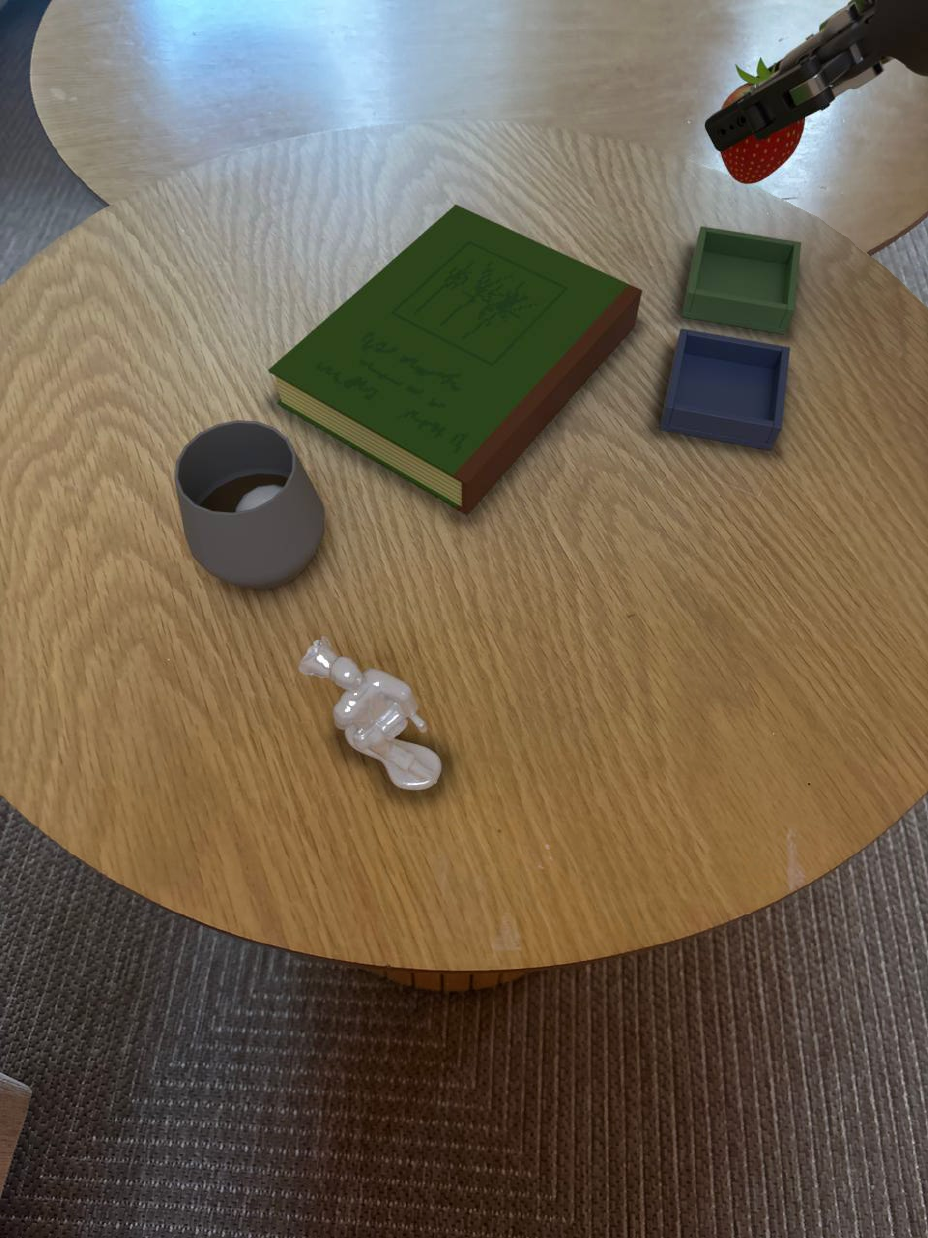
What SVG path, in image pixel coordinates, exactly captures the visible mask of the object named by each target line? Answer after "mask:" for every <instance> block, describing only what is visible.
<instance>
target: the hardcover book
mask: <svg viewBox="0 0 928 1238" xmlns="http://www.w3.org/2000/svg"><path fill="white" fill-rule="evenodd" d="M642 294H643V289H641V288H639V287H637V286H635V285H632V284H630V283H628V282H626V281H623V280H621V279H619V278H617V277H614V276H612V275H610V274H608V273H606V272H603V271H602V270H599V269H597V268H595V267H594V266H591V265H589V264H587V263H584V262H582V261H581V260H578V259H576V258H574V257H571V256H569V255H567V254H565V253H563V252H560V251H558V250H556V249H553V248H551V247H549V246H547V245H546V244H543V243H540V242H539V241H536V240H535V239H532V238H530V237H528V236H525V235H524V234H521V233H519V232H517V231H515V230H512V229H511V228H508V227H506V226H504V225H502V224H499V223H497V222H495V221H493V220H491V219H489V218H487V217H484V216H482V215H480V214H478V213H476V212H474V211H471V210H469V209H467V208H465V207H462V206H460V205H458V204H455V205H453V206H452V207H451V208H450V209H448V211H446V212H445V213H444V214H443V215H442V216H440V218H438V219H437V220H436V221H435V222H433V224H431V225H430V226H429V227H428V228H427V229H426V230H425V231H424V232H422V233H421V234H420V235H419V236H418V237H417V238H416V239H415V240H413V241H412V242H411V243H410V244H409V245H408V246H407V247H405V248H404V249H403V250H402V251H401V252H400V253H399V254H398V255H396V257H394V258H393V259H392V260H390V261H389V262H388V263H387V264H386V265H385V266H384V267H382V269H380V271H378V272H377V273H376V274H375V275H374V276H372V277H371V279H369V280H368V281H367V282H366V283H364V284H363V286H362V287H360V288H359V289H358V290H357V291H355V293H354V294H352V295H351V296H350V297H349V298H348V299H347V300H345V301H344V302H343V303H342V304H341V305H340V306H339V307H338V308H336V309H335V310H334V311H333V312H332V313H330V315H329V316H328V317H326V318H325V319H324V320H323V321H321V322H320V323H319V324H318V325H317V326H316V327H315V328H313V330H312V331H310V332H309V333H308V334H307V335H306V336H305V337H304V338H302V339H301V340H300V341H299V342H297V344H296V345H294V346H293V347H292V348H291V349H290V350H289V351H288V352H287V353H285V354H284V355H283V356H282V357H281V358H280V359H279V360H277V361H276V362H275V363H274V364H273V365H271V367H269V368H268V373H269V374H272V376H274V379H275V382H276V387H277V390H278V394H279V398H280V399H279V400H278V401H277V402H276V404H277V405H278V406H280V407H281V408H283V409H284V410H287V411H288V412H290V413H292V414H293V415H295V416H297V417H298V418H300V419H302V420H304V421H305V422H306V423H309V424H311V425H312V426H314V427H315V428H317V429H319V430H321V431H323V432H324V433H326V434H328V435H329V436H331V437H333V438H334V439H337V440H338V441H340V442H341V443H343V444H345V445H347V446H348V447H350V448H352V449H353V450H355V451H357V452H359V453H360V454H362V455H364V456H365V457H367V458H369V459H370V460H372V461H374V462H376V463H378V464H379V465H381V466H383V467H384V468H385V469H387V470H388V471H391V472H393V473H395V474H396V475H398V476H400V477H401V478H403V479H405V480H406V481H408V482H409V483H411V484H413V485H415V486H417V487H419V488H420V489H421V490H423V491H425V492H427V493H428V494H430V495H432V496H434V497H435V498H437V499H438V500H441V501H442V502H444V503H445V504H447V505H449V506H451V507H453V508H454V509H456V510H458V511H459V512H461V513H463V514H464V515H466V516H468V515H470V513H472V511H473V509H474V508H475V507H476V506H477V505H478V504H479V503H480V502H481V501H482V500H483V498H484V497H485V496H486V495H487V494H488V493H489V491H491V489H493V487H494V486H495V485H496V484H497V482H499V480H500V479H501V478H502V477H503V476H504V475H505V474H506V473H507V471H508V470H509V469H510V468H511V467H512V466H513V465H514V463H515V462H516V461H517V460H518V459H519V458H520V457H521V455H523V453H524V452H525V451H526V450H527V449H528V448H529V447H530V445H531V444H532V443H533V442H534V441H535V440H536V439H537V437H539V435H540V434H541V433H542V432H543V431H544V430H545V429H546V427H548V425H549V424H550V423H551V422H552V420H554V418H555V417H556V416H558V414H559V413H560V411H561V410H562V409H563V408H564V407H565V406H566V405H567V404H568V403H569V401H571V399H572V398H573V397H574V396H575V395H576V393H577V392H578V391H579V390H580V389H581V388H582V387H583V385H585V384H586V383H587V382H588V380H589V379H590V378H591V377H592V376H593V374H594V373H595V372H596V371H597V370H598V368H599V367H601V365H602V364H603V363H604V362H605V361H606V360H607V358H609V356H610V355H611V354H613V352H614V351H615V350H616V348H617V347H618V346H619V345H620V344H621V343H622V342H623V341H624V340H625V338H626V337H627V336H628V335H629V334H630V333H631V331H632V330H633V329H634V328H635V327H636V324H637V319H638V313H639V309H640V303H641V298H642Z"/></svg>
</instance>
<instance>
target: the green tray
mask: <svg viewBox="0 0 928 1238" xmlns="http://www.w3.org/2000/svg"><path fill="white" fill-rule="evenodd" d="M801 249H802V242H801V241H797V240H790V239H783V238H777V237H771V236H766V235H765V236H764V235H758V234H753V233H746V232H739V231H734V230H729V229H728V230H727V229H721V228H716V227H715V228H714V227H709V226H708V227H707V226H702V225H700V227H699V231H698V234H697V238H696V241H695V246H694V249H693V254H692V260H691V265H690V270H689V275H688V280H687V285H686V291H685V295H684V300H683V306H682V311H681V314H680V315H681V317H682V318H687V319H691V320H692V319H693V320H698V321H705V322H711V323H715V324H716V323H717V324H721V325H728V326H733V327H738V328H739V327H740V328H744V329H751V330H755V331H763V332H769V333H774V334H778V335H779V334H780V335H785V334H786V332H787V329H788V326H789V324H790V321H791V319H792V317H793V314H794V312H795V307H796V306H795V305H796V297H797V296H796V295H797V287H798V278H799V269H800V259H801Z"/></svg>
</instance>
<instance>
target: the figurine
mask: <svg viewBox="0 0 928 1238" xmlns="http://www.w3.org/2000/svg"><path fill="white" fill-rule="evenodd" d="M320 636H321V637H320V639H316V640H314V642H313V645H311V646H309V648H308V649H307V651H306V654H305V655H304V656H303V657H302V659H301V661H300V665H299V666H298V667H297V668H298V671H299V672H300V673H301V674H303V675H304V676H310V677H312V676H315V677H319V678H322V679H329V680H331V681H332V682H333V683H334V684H336V686H337V687H340V688H341V689H343V690H345V691H344V692H343V693H342V694H341V696H340V698H339V700H338V701H337V702H336V704H335V705H334V707H333V709H332V719H333V723H334V726H335V727H336V728H337V729H339V730H340V731H344V736H345V740H346V742H347V743H348V744H349V745H350V746H351V748H353V749H354V750H355V751H357V752H359V753H361V754H364V755H366V756H367V757H371V758H373V759H375V760H378V761H380V762H381V763H382V764H383V766H384V767H385V770H386V773H387V775H388V777H389V779H390V781H391V783H393V785H395V787H397V788H399V789H401V790H402V789H403V790H408V791H422V790H428V789H430V788H431V787H432V786H434V785H435V784H438V780H439V778H440V775H441V773H442V765H443V764H442V760H441V758H440V756H439V755H438V754H437V753H436V752H435V751H433V750H432V749H430V748H429V747H427V746H424V745H422V744H417V743H413V742H409V741H405V740H401V739H398V738H396V737H397V736H399V735H400V734H401V733H402V732H403V731H404V730H405V729H406V727H407V726H408V724H409V721H408V719H407V718H409V720H410V721H411V722H412V723H413V724H414V726H415V728H417V729H418V731H419V732H420V733H422V734H425V733H426V732H428V726H427V724H426V722H425V720H423V718H421V717H420V716H419V715H418V714H417V712H418V710H419V702H418V700H417V698H416V697H415V694H414V692H413V690H412V688H411V686H410V685H408V683H406V682H405V681H403V680H401V679H399V678H398V677H395V676H393V675H392V674H390V673H388V672H387V671H384V670H382V669H379V668H374V667H372V668H367V669H365V670H364V671H361V669H360V667H359V666H358V664H357V663H356V662H355V661H354V660H353V659H352V658H350V657H348V656H347V655H346V656H345V655H343V656H339V654H337V652H335V651H334V650H333V649H332V643H331V642H330V641H329V639H328V637H326V635H320Z"/></svg>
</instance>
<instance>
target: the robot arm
mask: <svg viewBox="0 0 928 1238" xmlns="http://www.w3.org/2000/svg"><path fill="white" fill-rule="evenodd" d="M894 59H895V60H897V61H898V62H900V63H901V64H903V65H904V66H905V68H907V69H908V70H909V71H910V72H912V73H914V74H916V75H918V76H921V77H928V0H849V2H848V3H847V5H845V6H843V7H842V8H840V9H838V10H836V11H835V12H834V13H833V14H832V15H830V16H829V17H827V18H826V19H825V20H824V21H822V23H820V24H819V27H818V31H817V32H816V33H815V34H814V33H811V34H810V35H808V36H807V37H806V38H805V41H803V42H801V43H800V44H799V45H797V46H796V47H795V48H793V49H792V50H790V51H789V52H787V53H786V54H785V56H783V58H781V59H780V60H778V61H776V62H775V63H776V65H775V71H774V74H772V75H771V76H770V77H768V78H767V79H765V80H764V81H762V82H761V83H759V84H758V83H756V84H754V85H753V86H751V87H750V91H748V92H747V93H746V94H744V95H743V96H741V97H740V98H738V99H736V100H735V101H733V102H732V103H730V104H729V105H727V106H725V107H724V108H722V107H721V108H722V109H721V108H720V109H719V110H718V111H716V112H714V113H712V115H710V116H709V117H708V118H707V119H706V120H705V122H704V129H705V132H706V133H707V135H708V137H709V139H710V141H711V143H712V145H713V147H714V149H715V150H716V151H718V152H719V153H720V152H723V151H725V150H727V149H728V148H730V147H732V146H734V145H735V144H737V143H739V142H741V141H742V140H744V139H746V138H748V137H749V136H751V135H753V136H754V138H755V140H756V141H759V140H761V139H763V140H764V139H766V138H768V137H769V136H770V135H771V134H773V133H775V132H777V131H779V130H781V129H783V128H785V127H787V126H789V125H791V124H793V123H795V122H797V121H799V120H801V119H803V118H805V119H806V118H807V117H810V116H811V115H813V114H815V113H817V112H819V111H821V112H822V111H824V110H826V109H828V108H830V106H831V104H832V102H834V101H835V100H836V98H837V97H839V96H840V95H842V94H843V93H845V92H847V91H848V90H858V89H860V88H861V87H863V86H865V85H866V84H868V83H869V82H871V81H873V80H874V79H876V78H877V77H878V76H880V75H881V74H883V72H885V70H886V69H885V67H884V65H885V64H887V63H890V62H891V61H893V60H894ZM773 65H774V63H773V64H772V65H770V66H769V67H767V69H768V70H769V71H770V73H771V72H772V69H773ZM755 77H757V78H759V77H758V75H757V74H756V76H755Z"/></svg>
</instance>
